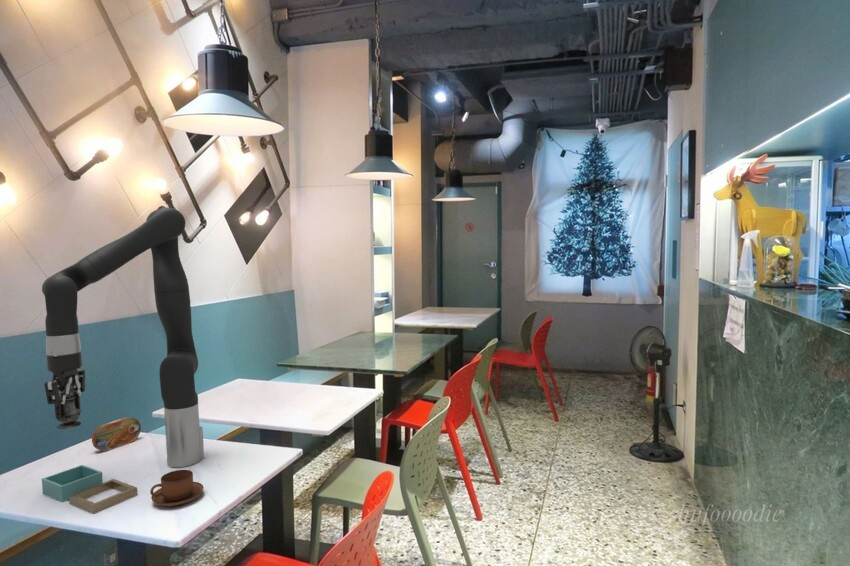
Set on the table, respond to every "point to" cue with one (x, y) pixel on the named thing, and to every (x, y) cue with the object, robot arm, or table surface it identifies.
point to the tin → (116, 434)
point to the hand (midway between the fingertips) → (68, 414)
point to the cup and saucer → (176, 489)
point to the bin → (71, 482)
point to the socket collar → (91, 507)
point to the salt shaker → (70, 412)
